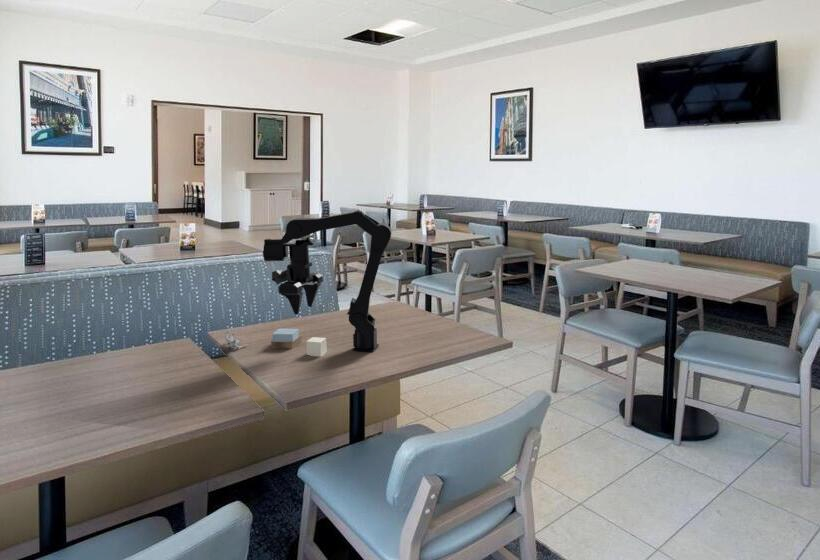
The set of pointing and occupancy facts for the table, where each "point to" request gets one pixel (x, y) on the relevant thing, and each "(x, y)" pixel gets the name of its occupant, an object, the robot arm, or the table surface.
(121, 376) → the table surface
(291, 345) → the tower base
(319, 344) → the cube
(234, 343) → the soldier figure
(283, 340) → the tower mid
